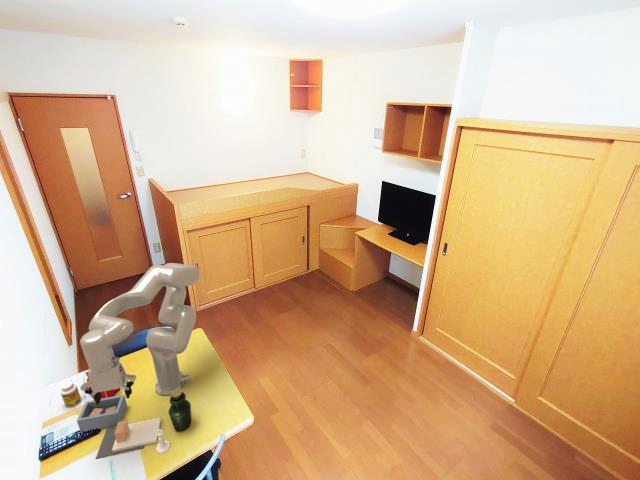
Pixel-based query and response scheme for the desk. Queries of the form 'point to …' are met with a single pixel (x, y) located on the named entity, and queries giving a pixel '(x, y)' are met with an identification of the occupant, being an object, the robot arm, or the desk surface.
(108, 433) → the rubber mat
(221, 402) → the desk surface
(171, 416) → the potion bottle
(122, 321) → the robot arm
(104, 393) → the french fries container
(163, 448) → the chess piece
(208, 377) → the desk surface
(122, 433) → the snap lid
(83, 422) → the parts tub
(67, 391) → the supplement bottle
